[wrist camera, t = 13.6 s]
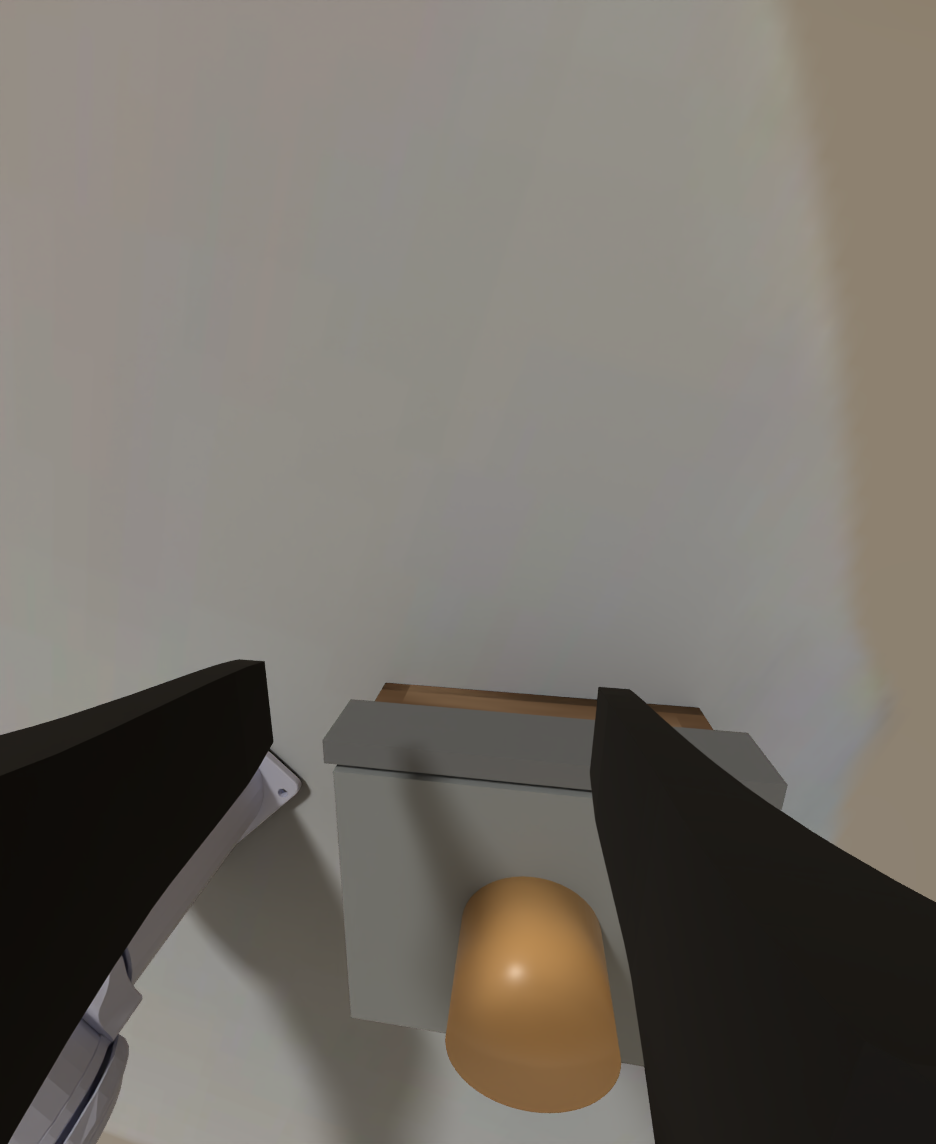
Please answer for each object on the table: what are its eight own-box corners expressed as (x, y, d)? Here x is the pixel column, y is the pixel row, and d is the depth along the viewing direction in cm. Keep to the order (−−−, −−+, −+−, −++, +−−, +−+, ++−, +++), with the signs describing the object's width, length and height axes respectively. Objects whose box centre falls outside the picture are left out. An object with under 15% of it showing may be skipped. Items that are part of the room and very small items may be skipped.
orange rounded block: (526, 1002, 18) (526, 1133, 14) (433, 919, 17) (411, 1034, 14) (631, 944, 16) (658, 1074, 13) (534, 852, 16) (536, 962, 12)
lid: (692, 999, 20) (716, 1078, 17) (365, 950, 22) (344, 1016, 19) (747, 732, 16) (787, 784, 14) (350, 699, 18) (322, 740, 16)
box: (662, 918, 23) (697, 1040, 19) (392, 882, 25) (360, 987, 20) (699, 707, 20) (752, 790, 15) (385, 682, 22) (345, 750, 17)
